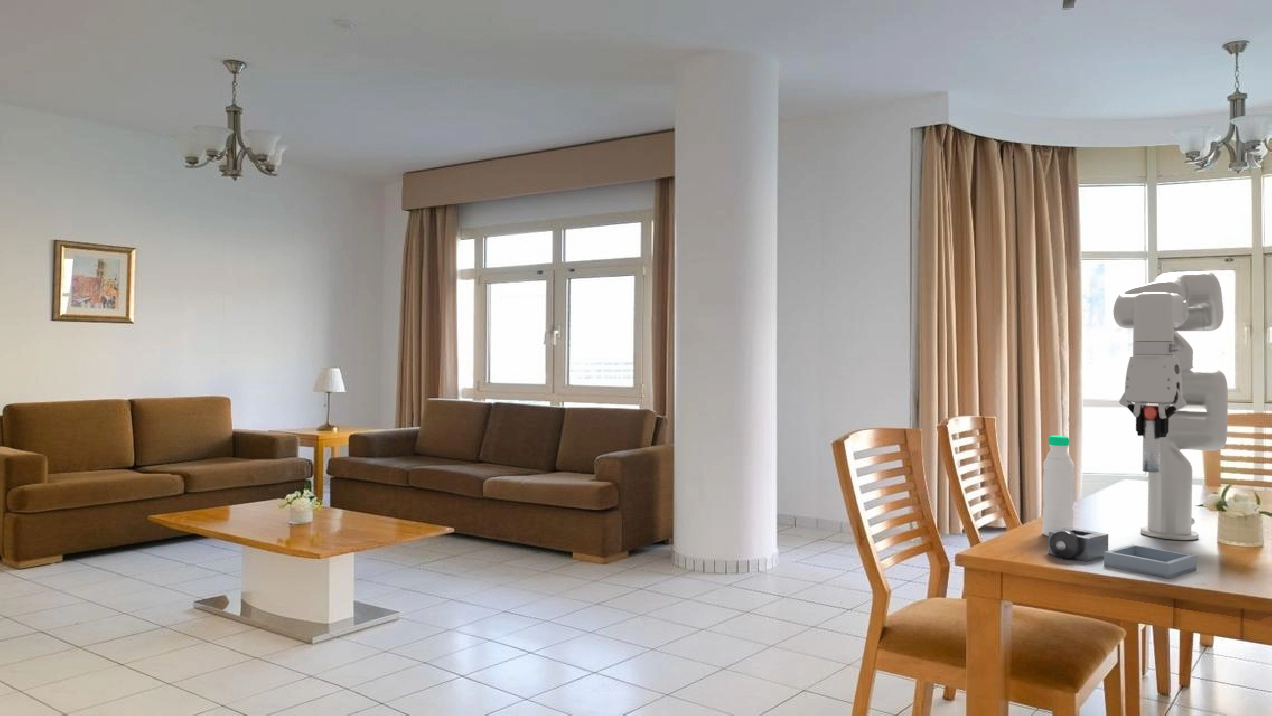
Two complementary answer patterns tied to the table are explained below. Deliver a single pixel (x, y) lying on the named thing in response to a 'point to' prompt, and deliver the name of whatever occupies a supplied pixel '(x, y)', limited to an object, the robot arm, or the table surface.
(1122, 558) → the tray
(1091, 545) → the tensioner block
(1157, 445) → the pin
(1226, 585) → the table surface
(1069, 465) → the water bottle
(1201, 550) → the table surface
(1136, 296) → the robot arm
